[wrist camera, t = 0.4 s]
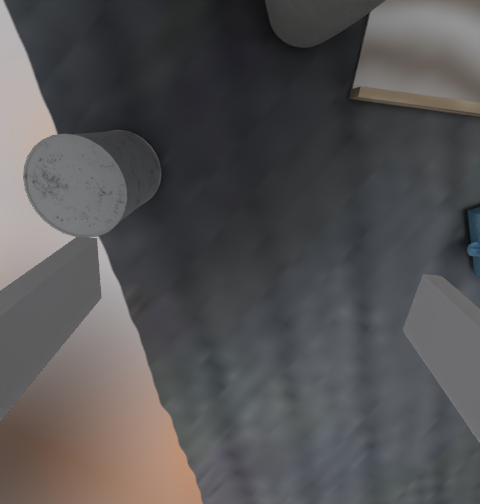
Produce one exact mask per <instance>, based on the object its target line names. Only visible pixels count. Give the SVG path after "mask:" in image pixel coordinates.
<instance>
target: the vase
mask: <svg viewBox="0 0 480 504" xmlns="http://www.w3.org/2000/svg"><path fill="white" fill-rule="evenodd" d="M384 1H385V0H265V3H266V8H267V12H268V17H269V21H270V24H271V27H272V29H273V31H274V32H275V34H276V35H277V36H278V37H279V38H280V39H281V40H282V41H284V42H285V43H287V44H289V45H291V46H295V47H300V48H308V47H313V46H316V45H319V44H321V43H323V42H324V41H326V40H328V39H330V38H332V37H333V36H335V35H337V34H338V33H340V32H342V31H343V30H345V29H346V28H348V27H349V26H351V25H352V24H354V23H356V22H357V21H359V20H360V19H361V18H363V17H364V16H365V15H367V14H368V13H369V12H371V11H372V10H373V9H375V8H376V7H378V6H379V5H380V4H382V3H383V2H384Z"/></svg>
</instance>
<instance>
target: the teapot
mask: <svg viewBox="0 0 480 504" xmlns="http://www.w3.org/2000/svg"><path fill="white" fill-rule="evenodd" d="M467 214H468V223H469V231H470V240H471V244H469V245H468V247H467V253H468V254H469V255H470V256H472V257H473V266H474V273H475V274H476V275H478V276H479V277H480V207H477V208H474V209H471V210H468V211H467Z"/></svg>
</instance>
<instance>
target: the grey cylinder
mask: <svg viewBox="0 0 480 504" xmlns="http://www.w3.org/2000/svg"><path fill="white" fill-rule="evenodd" d="M23 179H24V185H25V190H26V193H27V196H28V198H29V201H30V202H31V204H32V206H33V207H34V209H35V211H36V212H37V213H38V214H39V215H40V216H41V218H42V219H43V220H44V221H45V222H47V223H48V224H49V225H51V226H52V227H53V228H55V229H57V230H59V231H61V232H63V233H65V234H68V235H72V236H75V237H87V238H88V237H96V236H99V235H102V234H105V233H107V232H108V231H110V230H111V229H113V228H114V227H115V226H116V225H117V224H118V223H119V222H120V221H121V220H123V219H124V218H125V217H127V216H128V215H129V214H131V213H132V212H133V211H134V210H136V209H137V208H138V207H140V206H141V205H142V204H144V203H146V202H147V201H149V200H150V199H151V198H152V197H153V196H154V195H155V194H156V192H157V190H158V188H159V185H160V181H161V166H160V162H159V159H158V157H157V155H156V152H155V151H154V150H153V148H152V147H151V145H150V144H149V143H148V142H146V141H145V140H144V139H143V138H142V137H140V136H138V135H137V134H135V133H132V132H129V131H124V130H113V131H108V132H95V133H81V134H58V135H52V136H50V137H48V138H46V139H43V140H42V141H40V142H39V143H38V144H37V145H36V146H34V148H33V149H32V151H31V152H30V153H29V155H28V157H27V160H26V163H25V166H24V176H23Z"/></svg>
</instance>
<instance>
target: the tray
mask: <svg viewBox="0 0 480 504" xmlns="http://www.w3.org/2000/svg"><path fill="white" fill-rule="evenodd" d="M349 99H354V100H361V101H368V102H375V103H382V104H390V105H397V106H404V107H411V108H419V109H426V110H433V111H440V112H447V113H455V114H462V115H469V116H476V117H480V0H385V1H384V2H383V3H382V4H380V5H379V6H378V7H376V8H375V9H373V10H372V11H371V12H369V13H368V18H367V22H366V27H365V31H364V35H363V40H362V44H361V48H360V53H359V57H358V61H357V66H356V70H355V75H354V79H353V83H352V88H351V92H350V96H349Z"/></svg>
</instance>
